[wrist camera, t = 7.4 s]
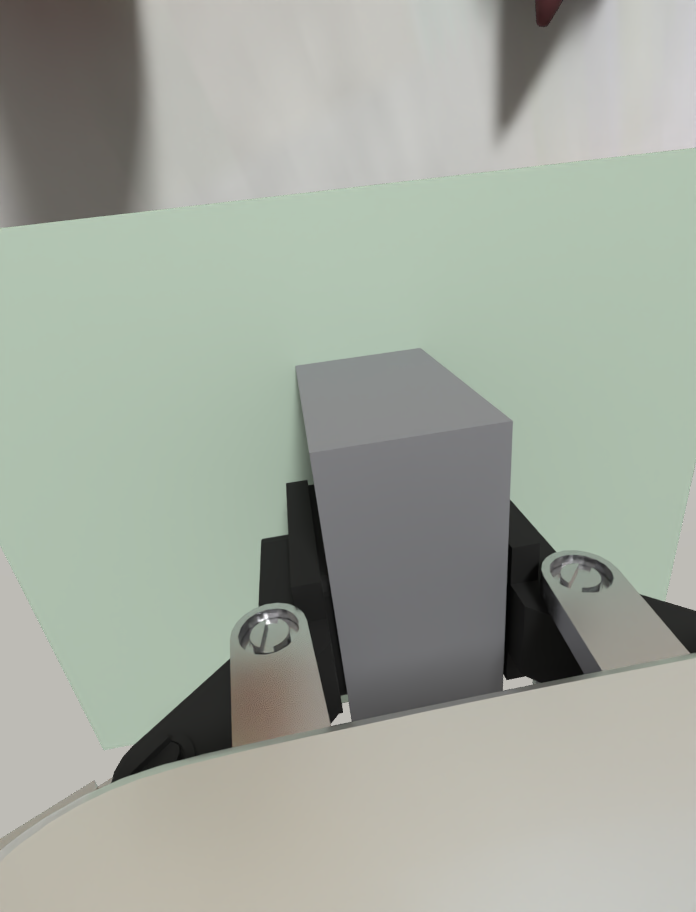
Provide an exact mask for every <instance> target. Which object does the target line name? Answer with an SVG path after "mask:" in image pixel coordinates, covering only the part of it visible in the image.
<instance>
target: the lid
mask: <svg viewBox="0 0 696 912" xmlns="http://www.w3.org/2000/svg"><path fill="white" fill-rule="evenodd" d="M695 463H696V148H689V149H680V150H672V151H663V152H654V153H646V154H637V155H628V156H620V157H611V158H602V159H594V160H585V161H576V162H568V163H559V164H551V165H542V166H533V167H525V168H516V169H507V170H499V171H490V172H481V173H473V174H464V175H455V176H447V177H438V178H430V179H421V180H412V181H404V182H395V183H386V184H378V185H369V186H360V187H352V188H343V189H334V190H326V191H317V192H309V193H300V194H291V195H283V196H274V197H265V198H257V199H248V200H239V201H231V202H222V203H213V204H205V205H196V206H187V207H179V208H170V209H162V210H153V211H144V212H136V213H127V214H118V215H110V216H101V217H92V218H84V219H75V220H66V221H58V222H49V223H41V224H32V225H23V226H15V227H6V228H0V546H1V548H2V550H3V552H4V554H5V556H6V558H7V560H8V562H9V564H10V566H11V568H12V570H13V572H14V574H15V576H16V578H17V580H18V582H19V584H20V586H21V588H22V590H23V592H24V594H25V596H26V598H27V599H28V602H29V604H30V606H31V608H32V610H33V611H34V614H35V616H36V617H37V619H38V621H39V623H40V625H41V627H42V629H43V631H44V633H45V635H46V637H47V639H48V641H49V643H50V645H51V647H52V649H53V651H54V653H55V655H56V657H57V659H58V661H59V663H60V665H61V667H62V669H63V671H64V673H65V675H66V677H67V679H68V681H69V683H70V684H71V687H72V689H73V691H74V693H75V695H76V697H77V698H78V701H79V702H80V705H81V707H82V708H83V710H84V712H85V714H86V716H87V718H88V720H89V722H90V724H91V726H92V728H93V730H94V732H95V734H96V736H97V738H98V740H99V742H100V744H101V746H102V748H103V750H108V749H113V748H118V747H123V746H128V745H133V744H135V743H137V742H138V741H139V740H140V739H141V738H142V737H143V736H144V735H145V734H147V733H148V732H149V731H150V730H151V729H152V728H153V727H154V726H155V725H157V724H158V723H159V722H160V721H161V720H162V719H163V718H164V717H165V716H167V715H168V714H169V713H170V712H171V711H172V710H173V709H174V708H175V707H177V706H178V705H179V704H180V703H181V702H182V701H183V700H184V699H185V698H187V697H188V696H189V695H190V694H191V693H192V692H193V691H194V690H195V689H197V688H198V687H199V686H200V685H201V684H202V683H203V682H204V681H205V680H207V679H208V678H209V677H210V676H211V675H212V674H213V673H214V672H215V671H217V670H218V669H219V668H220V667H221V666H222V665H223V664H224V663H225V662H227V661H228V660H229V659H230V636H231V631H232V629H233V628H234V626H235V624H236V622H237V621H238V620H239V619H240V618H241V617H243V616H244V615H245V614H246V613H248V612H249V611H251V610H253V609H254V608H257V607H258V604H259V580H260V555H261V540H262V539H264V538H270V537H276V536H282V535H287V534H288V517H287V496H286V483H290V482H296V481H302V480H307V481H308V485H313V484H314V487H315V493H316V499H317V505H318V512H319V518H320V524H321V530H322V537H323V543H324V549H325V555H326V562H327V568H328V574H329V581H330V587H331V593H332V599H333V606H334V612H335V618H336V625H337V631H338V637H339V644H340V650H341V656H342V662H343V669H344V675H345V681H346V688H347V695H342V696H341V702H342V703H345V702H349V706H350V713H351V719H352V722H353V721H358V720H363V719H368V718H372V717H377V716H382V715H387V714H392V713H396V712H401V711H406V710H411V709H416V708H421V707H425V706H430V705H435V704H440V703H445V702H450V701H455V700H460V699H465V698H470V697H475V696H480V695H485V694H490V693H494V692H499V691H503V667H504V641H505V615H506V589H507V563H508V537H509V511H510V500H511V501H512V502H513V503H514V504H515V505H516V507H517V508H518V509H519V510H520V511H521V512H522V513H523V515H524V516H525V517H526V518H527V519H528V520H529V521H530V522H531V524H532V525H533V526H534V527H535V528H536V529H537V530H538V532H539V533H540V534H541V535H542V536H543V537H544V538H545V539H546V541H547V542H548V543H549V544H550V545H551V546H552V547H553V549H554V550H555V551H556V552H560V551H564V550H578V551H584V552H589V553H592V554H595V555H598V556H601V557H603V558H604V559H606V560H608V561H610V562H611V563H612V564H613V565H614V566H616V567H617V568H618V569H619V570H620V572H621V573H622V574H623V575H624V576H625V577H626V579H627V580H628V581H629V582H630V583H631V585H632V586H633V587H634V588H635V589H636V590H637V592H638V593H639V594H641V595H645V596H648V597H651V598H655V599H658V600H661V601H664V602H665V600H666V595H667V590H668V586H669V582H670V577H671V573H672V568H673V563H674V559H675V554H676V550H677V545H678V540H679V536H680V532H681V527H682V523H683V518H684V513H685V509H686V504H687V500H688V495H689V491H690V486H691V482H692V477H693V472H694V468H695Z"/></svg>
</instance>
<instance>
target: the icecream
mask: <svg viewBox="0 0 696 912" xmlns="http://www.w3.org/2000/svg"><path fill="white" fill-rule="evenodd" d="M562 1H563V0H535V3H536V22H537V25H538V26H541V27H545V26H547V25H548V24H549V23H550V21H551V19H552V18H553V16H554V15H555V13H556V11H557V10H558V8H559V6H560V4H561V3H562Z"/></svg>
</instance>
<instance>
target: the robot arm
mask: <svg viewBox="0 0 696 912" xmlns="http://www.w3.org/2000/svg"><path fill="white" fill-rule="evenodd" d="M286 496H287V517H288V534H287V535H282V536H276V537H270V538H264V539H262V540H261V555H260V580H259V604H258V607H257V608H254V609H253V610H251V611H249V612H248V613H246V614H245V615H244V616H243V617H241V618H240V619H239V620H238V621H237V622H236V624H235V626H234V628H233V629H232V631H231V636H230V659H229V660H228V661H227V662H225V663H224V664H223V665H222V666H221V667H220V668H219V669H218V670H217V671H215V672H214V673H213V674H212V675H211V676H210V677H209V678H208V679H207V680H205V681H204V682H203V683H202V684H201V685H200V686H199V687H198V688H197V689H195V690H194V691H193V692H192V693H191V694H190V695H189V696H188V697H187V698H185V699H184V700H183V701H182V702H181V703H180V704H179V705H178V706H177V707H175V708H174V709H173V710H172V711H171V712H170V713H169V714H168V715H167V716H165V717H164V718H163V719H162V720H161V721H160V722H159V723H158V724H157V725H155V726H154V727H153V728H152V729H151V730H150V731H149V732H148V733H147V734H145V735H144V736H143V737H142V738H141V739H140V740H139V741H138V742H137V743H135V744H134V745H133V746H132V748H131V749H130V750H129V751H128V752H127V753H126V754H125V755H124V756H123V758H122V759H121V761H120V763H119V765H118V766H117V768H116V770H115V771H114V775H113V777H112V778H111V779H109V780H108V781H106V782H104V783H103V784H101V785H100V786H97V784H96V783H95V781H92V782H91V783H89V784H88V785H86V786H84V787H83V788H81V789H80V790H78V791H76V792H75V793H73V794H71V795H70V796H68V797H67V798H65V799H64V800H62V801H60V802H59V803H57V804H56V805H54V806H52V807H51V808H49V809H48V810H46V811H45V812H43V813H41V814H40V815H38V816H36V817H35V818H33V819H31V820H30V821H28V822H27V823H25V824H23V825H22V826H20V827H18V828H17V829H15V830H14V831H12V832H10V833H9V834H7V835H6V836H4V837H3V838H1V839H0V912H696V611H694V610H691V609H687V608H684V607H681V606H678V605H674V604H671V603H668V602H664V601H661V600H658V599H655V598H651V597H648V596H645V595H641V594H639V593H638V592H637V590H636V589H635V588H634V587H633V586H632V585H631V583H630V582H629V581H628V580H627V579H626V577H625V576H624V575H623V574H622V573H621V572H620V570H619V569H618V568H617V567H616V566H614V565H613V564H612V563H611V562H610V561H608V560H606V559H604V558H603V557H601V556H598V555H595V554H592V553H589V552H584V551H578V550H564V551H560V552H556V551H555V550H554V549H553V547H552V546H551V545H550V544H549V543H548V542H547V541H546V539H545V538H544V537H543V536H542V535H541V534H540V533H539V532H538V530H537V529H536V528H535V527H534V526H533V525H532V524H531V522H530V521H529V520H528V519H527V518H526V517H525V516H524V515H523V513H522V512H521V511H520V510H519V509H518V508H517V507H516V505H515V504H514V503H513V502H512V501H511V500H510V511H509V537H508V563H507V589H506V615H505V641H504V667H503V674H504V676H505V678H506V680H509V679H514V678H519V677H524V676H526V677H529V678H531V679H533V685H529V686H525V687H519V688H515V689H509V690H505V691H499V692H494V693H490V694H485V695H480V696H475V697H470V698H465V699H460V700H455V701H450V702H445V703H440V704H435V705H430V706H425V707H421V708H416V709H411V710H406V711H401V712H396V713H392V714H387V715H382V716H377V717H372V718H368V719H363V720H358V721H353V722H349V723H344V724H339V725H334V726H331V723H332V721H333V720H334V719H335V718H336V717H337V715H338V714H339V713H343V709H342V702H341V696H342V695H347V688H346V681H345V675H344V669H343V662H342V656H341V650H340V644H339V637H338V631H337V625H336V618H335V612H334V606H333V599H332V593H331V587H330V581H329V574H328V568H327V562H326V555H325V549H324V543H323V537H322V530H321V524H320V518H319V512H318V505H317V499H316V493H315V487H314V484H313V485H308V481H307V480H302V481H296V482H290V483H286Z"/></svg>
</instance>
